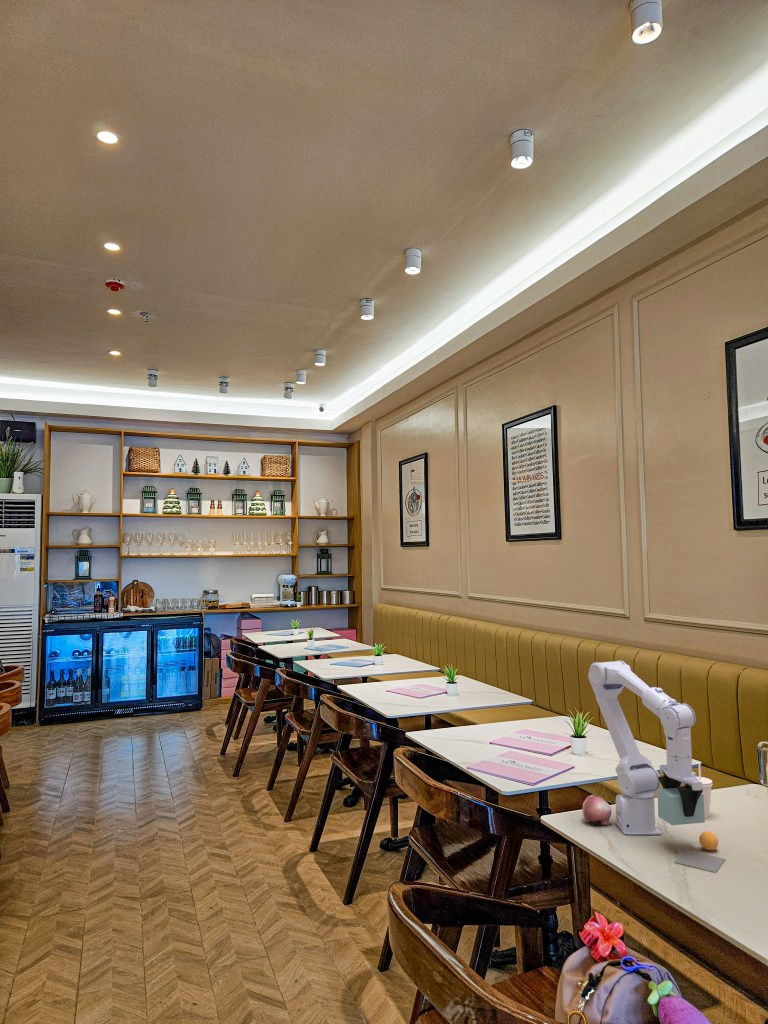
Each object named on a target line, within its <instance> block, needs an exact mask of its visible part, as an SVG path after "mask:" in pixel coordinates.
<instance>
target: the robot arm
mask: <svg viewBox="0 0 768 1024" xmlns="http://www.w3.org/2000/svg"><path fill="white" fill-rule="evenodd" d="M587 678H588V681H589V683H590V685H591V688H592V691H593V693H594V696H595V699H596V702H597V704H598V707H599V709H600V710H599V711H600V712H601V714H602V718H603V720H604V722H605V725H606V728H607V730H608V732H609V734H610V737H611V740H612V742H613V745H614V747H615V749H616V752H617V754H618V757H619V762H618V764H617V766H616V767H615V772H616V774H617V775H616V776H617V783H618V786H619V788H620V790H621V792H622V793H621V794H616V796H615V817H616V818H615V824H616V826H617V827H618V829H619V830H620V831H621V832H622V833H623V834H624V835H628V836H629V835H631V836H633V835H636V836H637V835H646V836H647V835H649V836H650V835H653V836H654V835H658V836H659V835H662V832H661V831H660V829H658V827H657V826H656V810H655V809H656V807H655V805H656V804H655V803H656V802H655V796H657V789H661V787H662V789H668V788H677V789H678V791H679V793H680V796H681V799H682V805H683V812H684V816H685V817H693V816H694V813H695V808H696V804H697V801H698V799H699V797H700V795H701V794H702V792H703V788H702V782H701V781H699V780H698V779H697V778H696V777H697V772H694V770H693V759H692V758H693V757H692V756H693V755H692V733H691V731H692V729H691V728H693V727H694V726H695V724H696V721H697V719H696V714H695V710H693V708H692V707H691V706H690V705H689V704H687V703H680V702H677V700H676V699H675V698H672V697H671V696H669V695H668V694H666V693H665V692H664V689H663V688H661V687H656V686H652V687H650V686H649V685H648V684H647V683H646V682H644V681H643V680H642V679H641V678H639V676H637V674H635V673H634V672H633V671H632V669H631V666H630V665H629V664H627V663H626V662H625V661H623V660H616V661H603V662H597V661H596V662H592V663H591V665H590V667H589V669H588V674H587ZM624 687H625V688H626V689H627V690H629V691H631V692H632V693H633V694H636V695H637V696H638V697H640V698H641V702H642V705H643V707H644V706H645V707H646V708H647V709H648V710H650V711H651V712H652V713H653V714H654V715H656V717H658V718H659V722H660V724H661V725H662V728H663V734H664V736H665V745H666V746H665V748H666V764H659V772H658V770H657V769H656V768H655V767H654V765H653V764H652V761H651V760H650V759H649V758H648V757H646V756H645V755H643V754H641V753H640V750H639V747H638V745H637V743H636V740H635V737H634V735H633V733H632V731H631V728H630V726H629V723H628V721H627V719H626V716H625V714H624V712H623V711H624V710H623V709H622V706H621V704H620V701H619V700H618V697H619V694H620V693H622V691H623V689H624ZM660 774H663V775H662V776H661V775H660ZM681 784H683V785H681Z"/></svg>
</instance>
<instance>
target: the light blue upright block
mask: <svg viewBox="0 0 768 1024" xmlns="http://www.w3.org/2000/svg"><path fill="white" fill-rule="evenodd" d="M656 796H657V814H658V815H657V817H658V818H660V819H661V820H663V821H665V822H666V823H668V825H671V826H681V825H691V824H702V823H703V824H704V823H705V822H706V820H705V819H706V818H705V813H704V794H701V795H700V797H699V799H698V801H697V804H696V808H695V813H694V816H693V817H685V816H684V812H683V805H682V799H681V796H680V793H679V791H678V789H677V788H668V789H663V788H659V789H657V791H656Z"/></svg>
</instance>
